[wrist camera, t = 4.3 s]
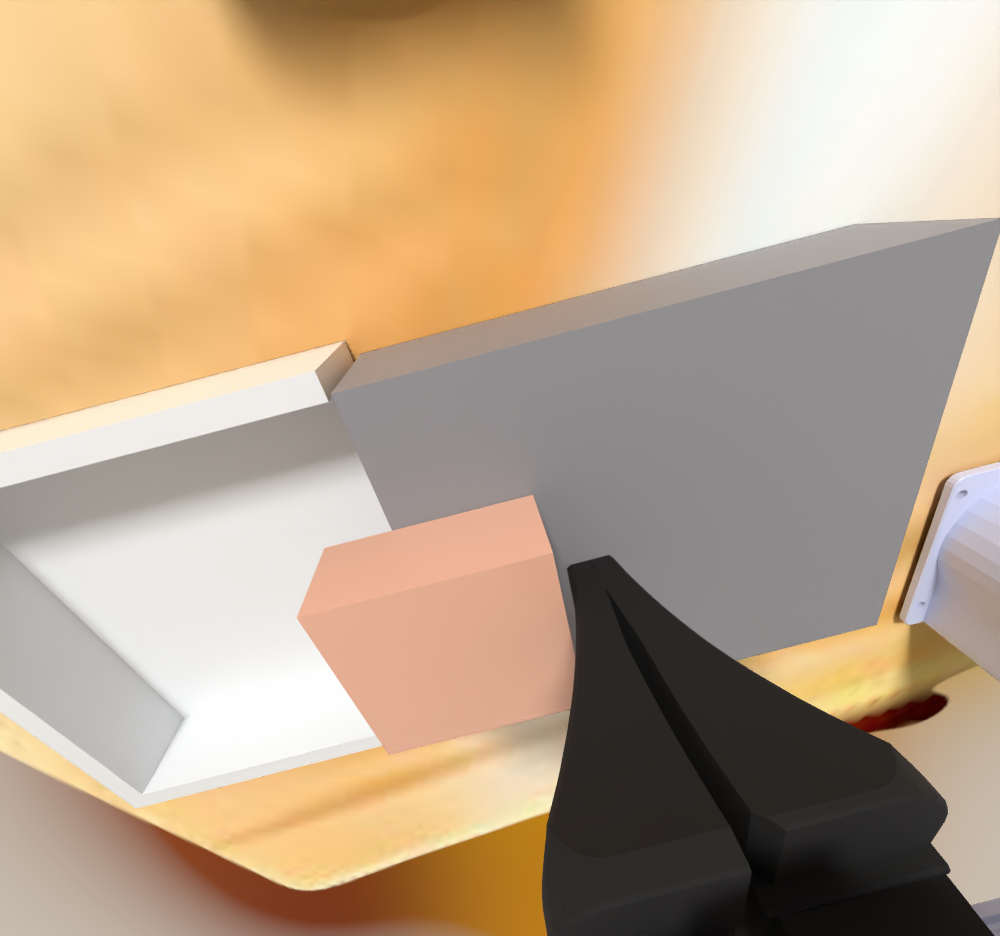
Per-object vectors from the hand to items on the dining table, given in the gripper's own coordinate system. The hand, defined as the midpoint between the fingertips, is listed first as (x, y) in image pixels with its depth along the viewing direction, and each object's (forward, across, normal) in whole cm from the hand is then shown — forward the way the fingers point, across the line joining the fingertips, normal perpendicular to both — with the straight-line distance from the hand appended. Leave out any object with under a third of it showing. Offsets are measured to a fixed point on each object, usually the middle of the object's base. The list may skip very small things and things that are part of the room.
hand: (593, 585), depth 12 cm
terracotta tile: (+1, +4, 0) cm, 4 cm away
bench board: (+5, -3, 0) cm, 6 cm away
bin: (+5, +13, 0) cm, 14 cm away
